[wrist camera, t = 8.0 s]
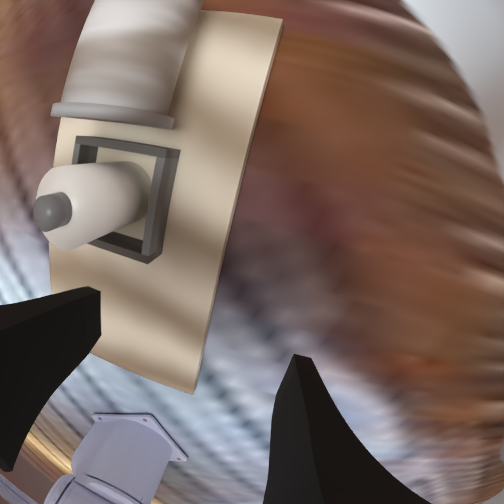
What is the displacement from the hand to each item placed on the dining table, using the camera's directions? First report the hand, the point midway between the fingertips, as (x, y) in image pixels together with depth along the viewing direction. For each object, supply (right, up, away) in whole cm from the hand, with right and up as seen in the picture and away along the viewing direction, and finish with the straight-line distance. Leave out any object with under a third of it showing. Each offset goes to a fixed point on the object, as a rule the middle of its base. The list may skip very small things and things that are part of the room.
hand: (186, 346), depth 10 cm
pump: (-6, +7, +7) cm, 12 cm away
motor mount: (-6, +5, +9) cm, 12 cm away
